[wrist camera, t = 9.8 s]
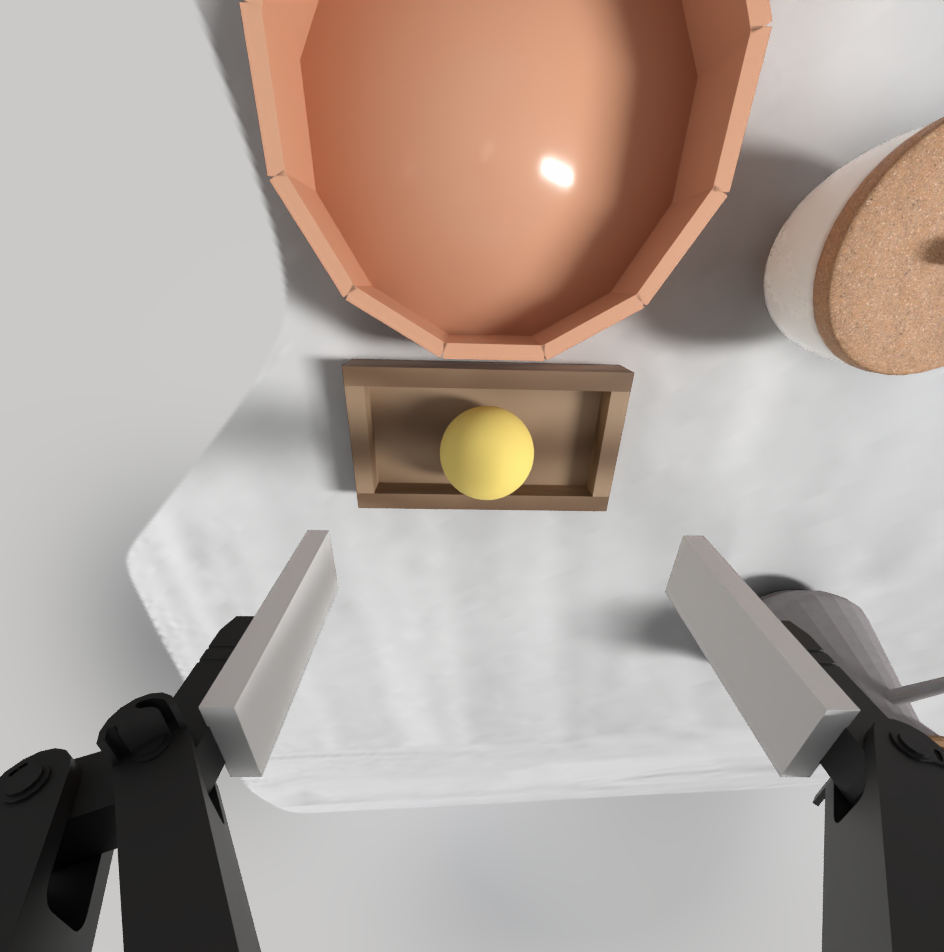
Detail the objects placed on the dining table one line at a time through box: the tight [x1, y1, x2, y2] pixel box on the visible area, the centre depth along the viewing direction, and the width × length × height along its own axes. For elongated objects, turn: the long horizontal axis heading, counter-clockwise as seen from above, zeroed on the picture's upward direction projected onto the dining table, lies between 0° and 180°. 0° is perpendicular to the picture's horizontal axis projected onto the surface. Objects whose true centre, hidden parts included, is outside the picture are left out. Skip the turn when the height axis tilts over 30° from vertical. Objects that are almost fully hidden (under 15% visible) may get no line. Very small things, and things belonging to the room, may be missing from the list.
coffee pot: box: [760, 590, 944, 749], centre depth 29 cm, size 21×12×15 cm, turn 171°
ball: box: [440, 406, 534, 500], centre depth 25 cm, size 6×6×6 cm
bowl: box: [239, 0, 772, 361], centre depth 19 cm, size 21×21×6 cm
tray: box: [342, 359, 634, 511], centre depth 28 cm, size 10×18×2 cm, turn 89°
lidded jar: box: [764, 117, 944, 375], centre depth 20 cm, size 11×11×9 cm
